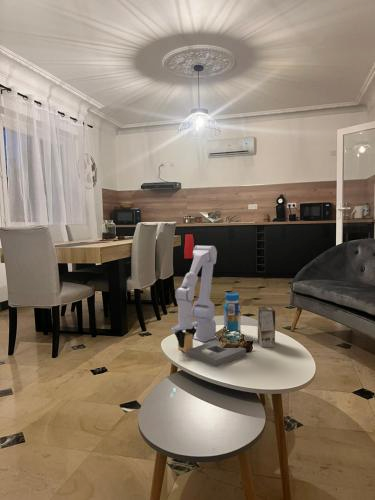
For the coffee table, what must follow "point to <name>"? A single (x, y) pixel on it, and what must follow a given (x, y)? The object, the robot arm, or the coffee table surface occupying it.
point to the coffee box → (266, 326)
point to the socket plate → (215, 353)
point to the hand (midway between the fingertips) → (185, 345)
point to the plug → (187, 342)
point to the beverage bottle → (232, 312)
